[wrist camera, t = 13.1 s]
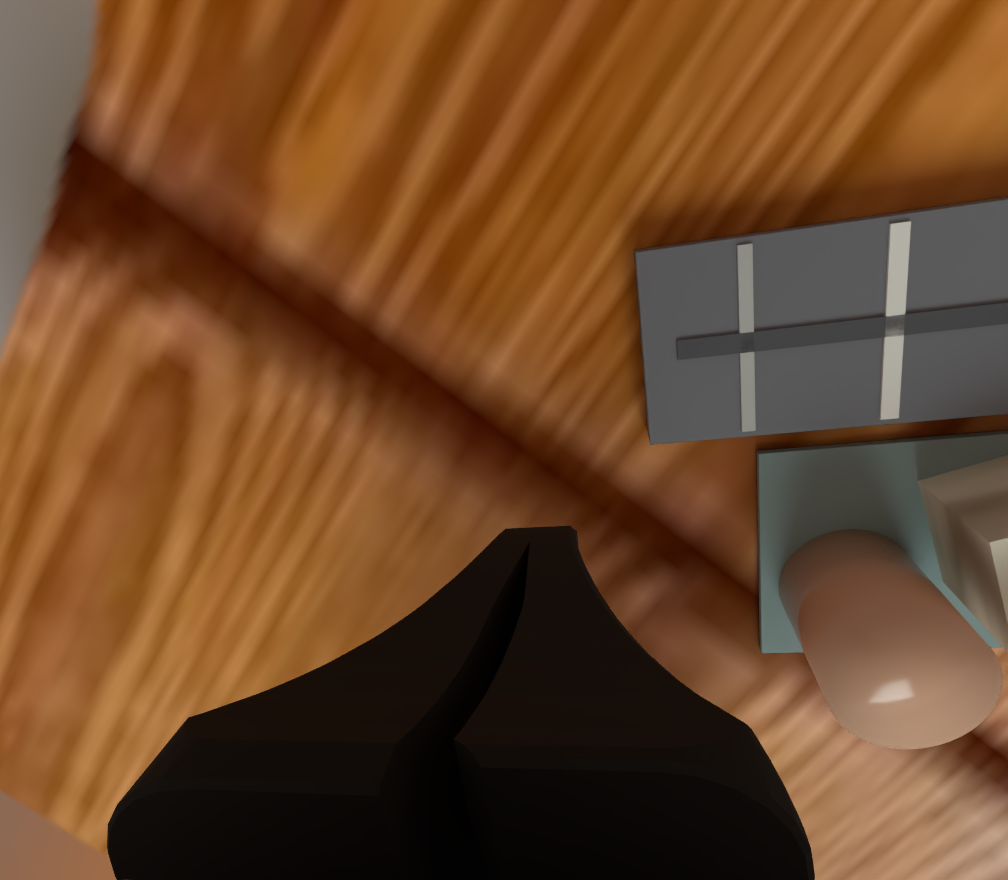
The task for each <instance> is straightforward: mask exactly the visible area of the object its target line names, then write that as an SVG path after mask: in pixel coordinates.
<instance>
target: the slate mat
mask: <svg viewBox="0 0 1008 880" xmlns="http://www.w3.org/2000/svg"><path fill="white" fill-rule="evenodd" d="M1006 455H1008V430H1004V431H992V432H980V433H967V434H955V435H943V436H931V437H919V438H906V439H894V440H882V441H870V442H858V443H845V444H833V445H821V446H809V447H796V448H784V449H772V450H760V451H757V504H758V565H759V626H760V650H761V652H762V653H792V652H804V651H803V649H802V647H801V645H800V643H799V640H798V638H797V636H796V634H795V632H794V629H793V627H792V625H791V623H790V621H789V619H788V616H787V614H786V612H785V610H784V608H783V605H782V603H781V600H780V596H779V580H780V575H781V572H782V570H783V567H784V566H785V564H786V562H787V561H788V559H789V558H790V557H791V555H792V554H793V553H794V552H795V551H796V550H797V549H798V548H800V547H801V546H802V545H804V544H805V543H807V542H808V541H810V540H811V539H813V538H816V537H818V536H820V535H823V534H826V533H829V532H833V531H837V530H845V529H859V530H867V531H871V532H875V533H878V534H881V535H883V536H885V537H887V538H889V539H891V540H893V541H894V542H895V543H897V544H898V545H899V546H900V547H901V548H902V549H903V550H904V551H905V552H906V553H907V554H908V555H909V556H910V558H911V559H912V560H913V561H914V562H915V563H916V564H917V565H918V567H919V568H920V569H921V570H922V571H923V572H924V573H925V574H926V576H927V577H928V578H929V579H930V580H931V581H932V582H933V583H934V585H935V586H936V587H937V588H938V589H939V590H940V591H941V592H942V594H943V595H944V596H945V597H946V598H947V599H948V600H949V601H950V603H951V604H952V605H953V606H954V607H955V608H956V609H957V610H958V612H959V613H960V614H961V615H962V616H963V617H964V618H965V619H966V621H967V622H968V623H969V624H970V625H971V626H972V627H973V628H974V630H975V631H976V632H977V633H978V634H979V635H980V636H981V637H982V639H983V640H984V641H985V642H986V643H987V644H988V645H989V647H990V648H998V647H1002V646H1001V645H1000V643H999V642H998V641H997V640H996V639H995V638H994V637H993V636H992V635H991V634H990V633H989V631H988V630H987V629H986V628H985V627H984V626H983V625H982V624H981V623H980V622H979V621H978V619H977V618H976V617H975V616H974V615H973V614H972V613H971V612H970V611H969V610H968V609H967V607H966V606H965V605H964V604H963V603H962V602H961V601H960V600H959V599H958V598H957V597H956V596H955V594H954V593H953V592H952V591H951V590H950V589H949V588H948V587H947V586H946V585H945V584H944V582H943V579H942V575H941V571H940V567H939V563H938V559H937V555H936V551H935V548H934V544H933V540H932V536H931V532H930V528H929V524H928V520H927V516H926V512H925V508H924V504H923V500H922V496H921V492H920V488H919V484H918V481H919V480H923V479H926V478H930V477H933V476H937V475H940V474H944V473H947V472H951V471H954V470H958V469H961V468H965V467H968V466H971V465H975V464H978V463H982V462H985V461H989V460H992V459H996V458H999V457H1003V456H1006Z"/></svg>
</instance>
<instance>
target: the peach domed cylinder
mask: <svg viewBox="0 0 1008 880" xmlns="http://www.w3.org/2000/svg"><path fill="white" fill-rule="evenodd" d="M779 596H780V600H781V603H782V605H783V608H784V610H785V612H786V614H787V616H788V619H789V621H790V623H791V625H792V627H793V629H794V632H795V634H796V636H797V638H798V640H799V643H800V645H801V647H802V649H803V651H804V653H805V656H806V658H807V660H808V662H809V664H810V667H811V669H812V671H813V673H814V675H815V677H816V680H817V682H818V684H819V686H820V688H821V691H822V693H823V695H824V697H825V699H826V701H827V704H828V706H829V708H830V710H831V712H832V714H833V715H834V717H835V719H836V720H837V721H838V722H839V723H840V724H841V726H843V727H844V728H845V729H846V730H847V731H848V732H850V733H851V734H853V735H855V736H856V737H858V738H860V739H862V740H864V741H866V742H869V743H872V744H875V745H878V746H883V747H888V748H895V749H920V748H927V747H932V746H937V745H941V744H944V743H947V742H950V741H952V740H954V739H957V738H959V737H961V736H963V735H964V734H966V733H968V732H970V731H971V730H972V729H974V728H975V727H977V726H978V725H979V724H980V723H981V722H982V721H983V720H984V719H986V717H987V716H988V715H989V714H990V713H991V711H992V710H993V708H994V707H995V705H996V703H997V701H998V699H999V696H1000V693H1001V689H1002V679H1003V677H1002V670H1001V666H1000V663H999V660H998V658H997V657H996V655H995V653H994V652H993V650H992V649H991V648H990V647H989V645H988V644H987V643H986V642H985V641H984V640H983V639H982V637H981V636H980V635H979V634H978V633H977V632H976V631H975V630H974V628H973V627H972V626H971V625H970V624H969V623H968V622H967V621H966V619H965V618H964V617H963V616H962V615H961V614H960V613H959V612H958V610H957V609H956V608H955V607H954V606H953V605H952V604H951V603H950V601H949V600H948V599H947V598H946V597H945V596H944V595H943V594H942V592H941V591H940V590H939V589H938V588H937V587H936V586H935V585H934V583H933V582H932V581H931V580H930V579H929V578H928V577H927V576H926V574H925V573H924V572H923V571H922V570H921V569H920V568H919V567H918V565H917V564H916V563H915V562H914V561H913V560H912V559H911V558H910V556H909V555H908V554H907V553H906V552H905V551H904V550H903V549H902V548H901V547H900V546H899V545H898V544H897V543H895V542H894V541H893V540H891V539H889V538H887V537H885V536H883V535H881V534H878V533H875V532H871V531H867V530H859V529H845V530H837V531H833V532H829V533H826V534H823V535H820V536H818V537H816V538H813V539H811V540H810V541H808V542H807V543H805V544H804V545H802V546H801V547H800V548H798V549H797V550H796V551H795V552H794V553H793V554H792V555H791V557H790V558H789V559H788V561H787V562H786V564H785V566H784V567H783V570H782V572H781V575H780V580H779Z"/></svg>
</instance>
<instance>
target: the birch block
mask: <svg viewBox="0 0 1008 880" xmlns="http://www.w3.org/2000/svg"><path fill="white" fill-rule="evenodd" d="M918 484H919V488H920V492H921V496H922V500H923V504H924V508H925V512H926V516H927V520H928V524H929V528H930V532H931V536H932V540H933V544H934V548H935V551H936V555H937V559H938V563H939V567H940V571H941V575H942V579H943V582H944V584H945V585H946V586H947V587H948V588H949V589H950V590H951V591H952V592H953V593H954V594H955V596H956V597H957V598H958V599H959V600H960V601H961V602H962V603H963V604H964V605H965V606H966V607H967V609H968V610H969V611H970V612H971V613H972V614H973V615H974V616H975V617H976V618H977V619H978V621H979V622H980V623H981V624H982V625H983V626H984V627H985V628H986V629H987V630H988V631H989V633H990V634H991V635H992V636H993V637H994V638H995V639H996V640H997V641H998V642H999V643H1000V645H1001V646H1002V647H1003V648H1004V649H1005V650H1006V651H1007V652H1008V455H1006V456H1003V457H999V458H996V459H992V460H989V461H985V462H982V463H978V464H975V465H971V466H968V467H965V468H961V469H958V470H954V471H951V472H947V473H944V474H940V475H937V476H933V477H930V478H926V479H923V480H919V481H918Z"/></svg>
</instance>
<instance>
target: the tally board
mask: <svg viewBox="0 0 1008 880" xmlns="http://www.w3.org/2000/svg"><path fill="white" fill-rule="evenodd" d="M634 259H635V272H636V285H637V298H638V311H639V324H640V337H641V350H642V363H643V377H644V390H645V403H646V416H647V429H648V436H649V440H650V445H653V444H665V443H676V442H688V441H700V440H711V439H723V438H734V437H746V436H758V435H769V434H781V433H792V432H804V431H816V430H827V429H839V428H850V427H862V426H874V425H885V424H897V423H908V422H920V421H932V420H943V419H955V418H966V417H978V416H990V415H1001V414H1008V196H1006V197H999V198H992V199H985V200H978V201H971V202H965V203H958V204H951V205H944V206H937V207H930V208H923V209H916V210H909V211H902V212H895V213H888V214H881V215H874V216H867V217H860V218H853V219H846V220H839V221H833V222H826V223H819V224H812V225H805V226H798V227H791V228H784V229H777V230H770V231H763V232H756V233H749V234H742V235H735V236H728V237H721V238H714V239H707V240H701V241H694V242H687V243H680V244H673V245H666V246H659V247H652V248H645V249H638V250H634Z"/></svg>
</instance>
